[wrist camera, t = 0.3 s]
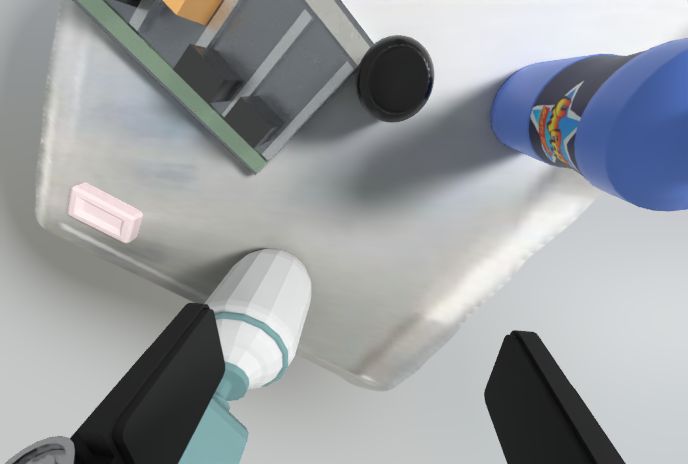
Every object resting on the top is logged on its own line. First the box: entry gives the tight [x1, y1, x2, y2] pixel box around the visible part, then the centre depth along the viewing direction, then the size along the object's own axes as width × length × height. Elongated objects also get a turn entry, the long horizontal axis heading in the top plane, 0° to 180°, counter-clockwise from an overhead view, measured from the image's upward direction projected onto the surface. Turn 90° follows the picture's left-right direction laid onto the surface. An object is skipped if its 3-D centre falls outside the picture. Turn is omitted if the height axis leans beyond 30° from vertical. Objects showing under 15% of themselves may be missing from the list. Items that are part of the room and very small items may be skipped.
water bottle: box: [491, 38, 688, 211], centre depth 22 cm, size 9×9×25 cm
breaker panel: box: [73, 0, 374, 175], centre depth 29 cm, size 20×25×7 cm
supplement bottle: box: [356, 35, 434, 122], centre depth 27 cm, size 7×7×12 cm
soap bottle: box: [178, 248, 311, 464], centre depth 32 cm, size 12×12×31 cm
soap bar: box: [68, 182, 143, 243], centre depth 43 cm, size 5×9×2 cm, turn 59°
